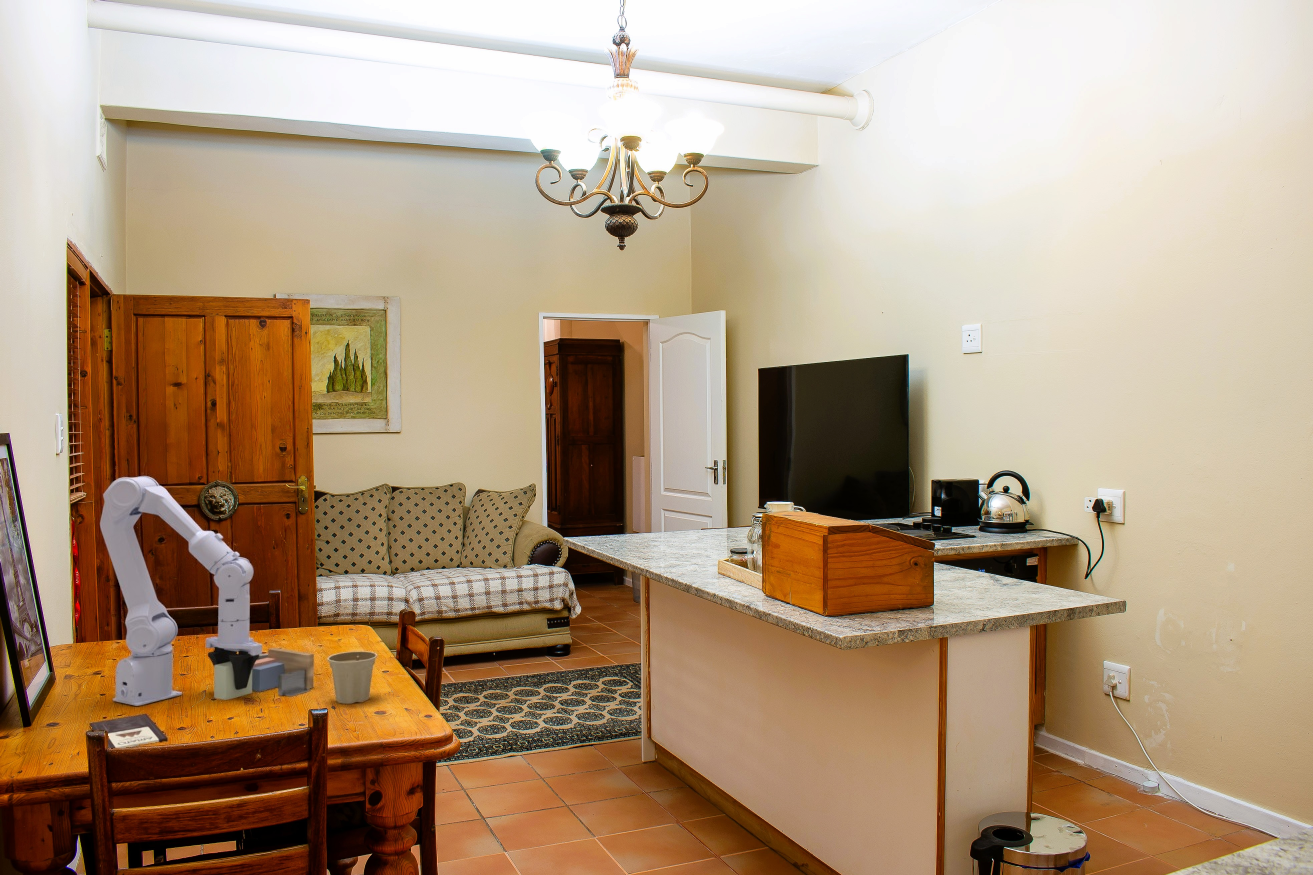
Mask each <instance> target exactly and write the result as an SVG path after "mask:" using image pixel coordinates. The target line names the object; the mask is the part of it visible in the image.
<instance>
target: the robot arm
mask: <svg viewBox="0 0 1313 875" xmlns="http://www.w3.org/2000/svg"><path fill="white" fill-rule="evenodd" d="M102 495H103V500H104V502H103V508H102V513H101V518H100V522H99V526H100V530H101V534H102V536H103V539H104V543H105V545H106V548H107V552H108V555H109V557H110V559H111V562H112V563H111V564H112V566H113V569H114V572H115V575H116V578H117V580H118V583H119V586H120V590H121V593H122V596H123V598H124V602H125V604H126V607H127V615H126V618H125V621H124V622H125V627H126V636H125V643H126V646H127V648H128V649H129V651H130V652H131V653H130V655H128V657H125V658H122V659H120V660H119V661H118V663H117V665H116V668H115V697H114V698H112V701H113V702H117V703H122V704H126V705H129V706H130V705H132V706H135V707H138V706H143V705H147V704H151V703H154V702H155V703H156V702H159V701H163V700H167V699H171V698H174V697H178V696H182V695H183V692H182V691H177V690H173V667H174V666H173V663H174V662H173V658H174V657H173V655H174V654H173V653H174V650H173V649H174V648H173V646H172V642H173V641H174V640H175V639H176V638H177V635H178V630H179V629H178V625H177V623H176V621H175V619H173V617H171V616H170V615H169V613H168V611H167V608H166V607H165V605H164V604H162V602H160V601H159V600H158V598H157V594H156V591H155V588H154V585H153V582H152V580H151V577H150V573H149V570H148V568H147V565H146V561H145V558H144V556H143V552H142V549H141V547H140V544H139V541H138V538H137V535H136V532H135V529H134V526H135V524H136V522H137V521H138V520H139V518H140V517H141V515H142V514H143V513H147V514H150V515H156V516H159V517H160V518H161V519H162V520H163V521H165V523H166V524H168V525H169V526H170V527H171V528H172V529H173V530H174V531H176V532H177V533H178V534H179V535H180V536H181V537H182V538H184V539H185V540H186V541H187V542H188V552H189V553H190V554H191V555H192V556H193V557H194V558H195V559H197V561H198V562H199V563H200V564H202V566H203V567H205V569H207V570H208V571H209V573H210V574H213V575H214V576H213V580H214V583H215V585H216V586H217V587H218V612H217V613H218V616H217V617H218V619H217V621H218V624H217V628H218V630H217V636H211V637H207V638H206V639H205V648H207V649H213V651H210V652H209V651H208V652H207V657H208V658H209V660H210V661H211V663H212V665H213V666H214V665H217V664H222V663H226V662H230V661H231V663H232V667H233V671H234V682H235V688H236V690H240V689H244V688H247V685H248V681H249V677H250V674H251V671H252V668H253V666H254V664H255V662H256V660H257V659H258V657H259V655H260V654H263V643H258V642H257V641H254V638H253V637H250V617H251V616H250V614H251V613H250V608H251V606H250V605H251V604H250V602H251V600H250V599H251V596H250V581H251V580H252V579H253V576H254V573H255V572H254V567H253V565H252V563H250V560H249V559H247V558H245V557H241V556H240V553H239V552H238V551H233V550H232V549H231V548H230V547H229V545H227V544H226V543H225V541H224V540H223V539H224V536H223V535H222V534H221V533H215V532H214V531H212V530H203V529H202V528H201V527H200V526H199V524H197V522H195V520H194V519H193V518H192V517H191V516H190V515H189V514H188V513H187V511H186V510H184V509H183V507H182V506H181V505H180V504H179V502H177V501H176V500H175V499H174V498H173V497H172V495H171V494H170V492H168V490H167V489H166V488H165V487H163V486H162V485H160V484H159V483H158V482H157V480H155V478H153V477H150V476H147V475H141V476H137V477H127V476H126V477H125V476H123V477H119V478H117V479H116V480H114V481H112V482H111V483H110V485H109V486H108V488H107V489H106V490H105V491H104V493H103V494H102Z"/></svg>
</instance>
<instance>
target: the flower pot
mask: <svg viewBox="0 0 1313 875" xmlns="http://www.w3.org/2000/svg"><path fill="white" fill-rule="evenodd" d="M377 657H378V654H377V653H376V652H372V651H368V650H367V651H366V650H365V651H364V650H359V651H358V650H356V651H355V650H354V651H346V652H344V651H343V652H339V653H335V654H331V655H329V656H327V658H326V660H327V662H329V667H330V668H331V672H332V673H331V674H332V680H333V687H334V688H333V689H334V694H335V701H336V702H337V703H338V704H342V705H344V704H347V705H352V704H354V703H362V702H363V703H364V702H366V701H368V700H369V699H370V694H371V693H370V692H371V687H372V686H371V685H372V680H373V679H372V678H373V669H374V665H375V664H376V659H377Z"/></svg>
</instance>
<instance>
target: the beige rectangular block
mask: <svg viewBox="0 0 1313 875" xmlns="http://www.w3.org/2000/svg"><path fill="white" fill-rule="evenodd" d="M213 668H214V676H213V678H214V679H213V680H214V682H213V685H214V686H213V687H214V688H213V695H214V696H213V698H214V699H218V700H223V701H227V700H231V699H235V698H238V697H243V696H246V695H249V694H252V693H253V690H252V671H251V674H250V677H249V681H248V685H247V688H244V689H240V690H236V688H235V682H234V671H233V667H232V663H231V661H230V662H226V663H222V664H217V665H213Z"/></svg>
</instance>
